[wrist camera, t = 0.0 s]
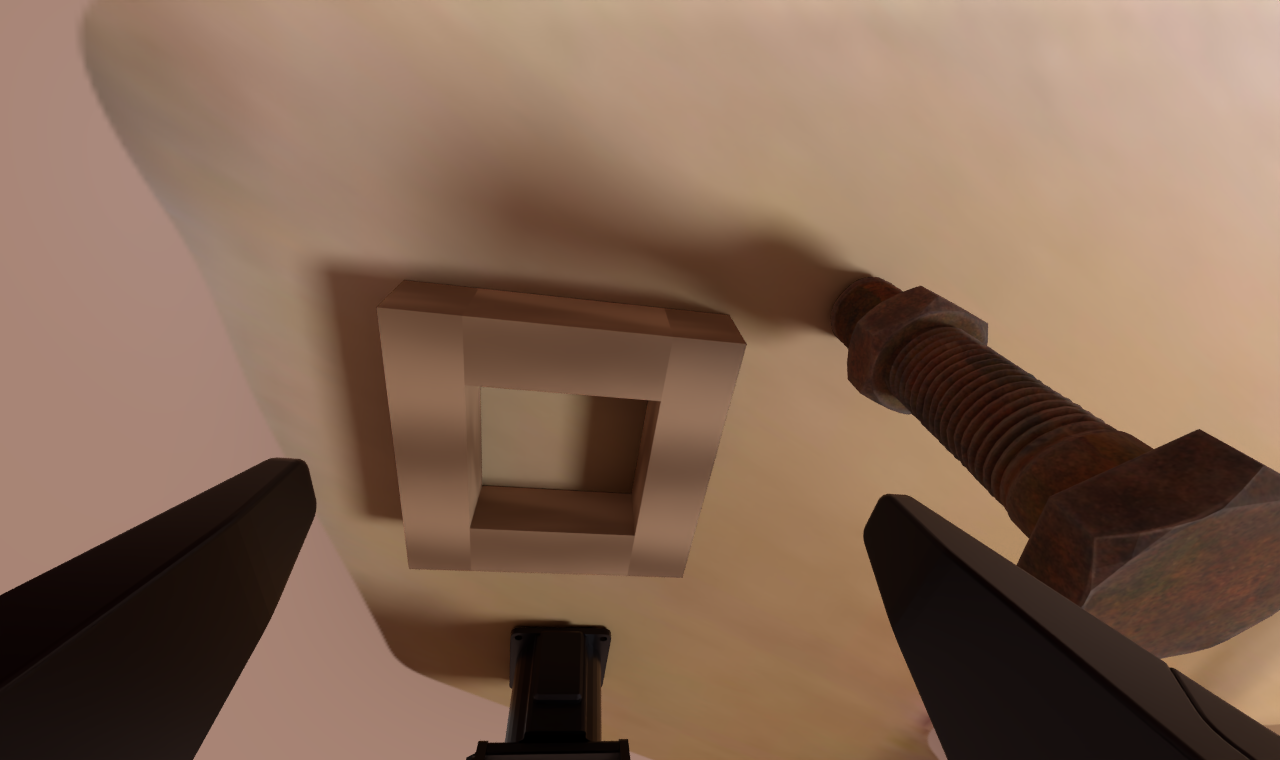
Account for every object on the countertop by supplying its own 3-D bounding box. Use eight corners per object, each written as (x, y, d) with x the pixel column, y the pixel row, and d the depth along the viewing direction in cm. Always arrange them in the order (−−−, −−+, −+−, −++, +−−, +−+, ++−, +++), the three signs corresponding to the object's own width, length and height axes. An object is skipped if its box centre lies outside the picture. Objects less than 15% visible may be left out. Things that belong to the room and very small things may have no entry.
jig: (674, 534, 29) (682, 577, 27) (426, 523, 27) (409, 568, 25) (729, 315, 22) (746, 344, 20) (404, 280, 21) (376, 307, 18)
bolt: (777, 330, 23) (1009, 635, 10) (844, 230, 21) (1245, 454, 8) (873, 374, 25) (1177, 685, 12) (944, 286, 23) (1411, 546, 10)
